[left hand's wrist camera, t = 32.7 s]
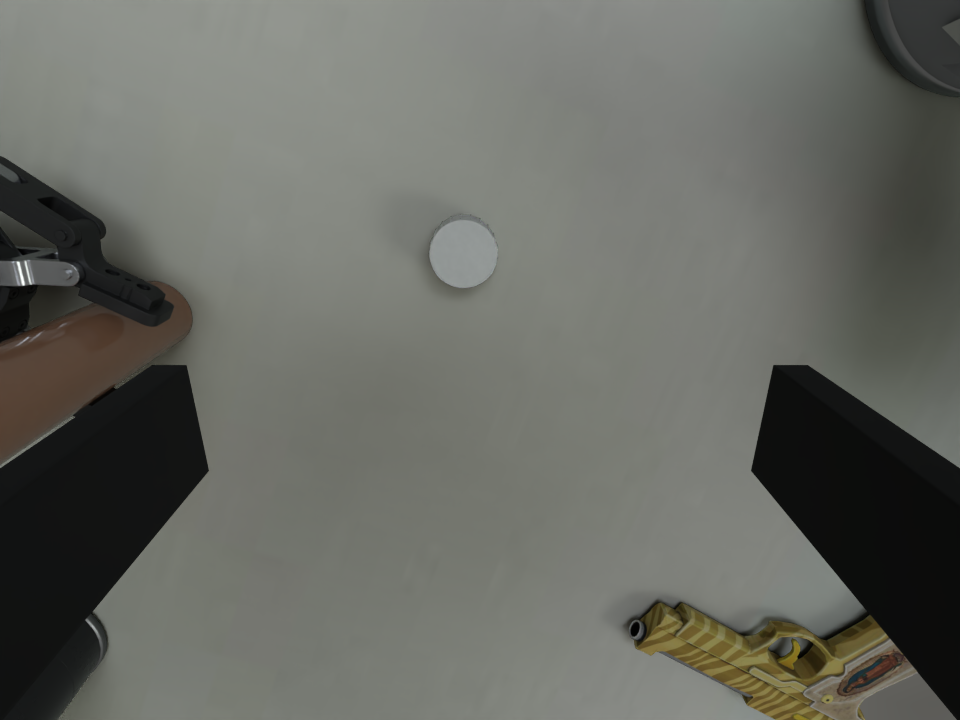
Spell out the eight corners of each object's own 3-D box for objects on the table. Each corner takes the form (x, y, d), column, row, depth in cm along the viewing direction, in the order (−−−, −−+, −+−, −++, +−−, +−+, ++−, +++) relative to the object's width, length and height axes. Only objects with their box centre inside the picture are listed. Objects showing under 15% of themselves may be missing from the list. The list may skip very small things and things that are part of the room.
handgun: (756, 519, 39) (626, 654, 43) (970, 647, 43) (833, 758, 48) (740, 498, 41) (618, 628, 46) (945, 622, 46) (817, 729, 50)
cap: (469, 292, 35) (469, 302, 33) (417, 252, 34) (414, 261, 32) (509, 241, 34) (512, 249, 31) (457, 199, 33) (456, 203, 30)
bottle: (116, 326, 35) (-494, 644, 13) (134, 269, 34) (-510, 511, 12) (181, 355, 36) (-285, 701, 14) (201, 299, 35) (-279, 582, 12)
